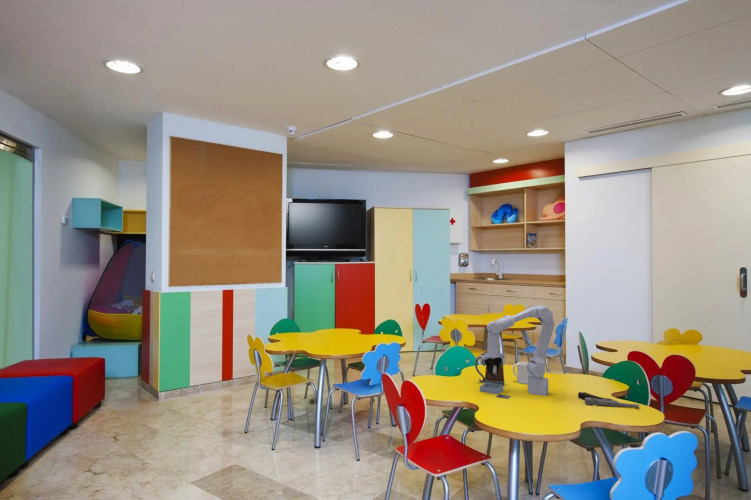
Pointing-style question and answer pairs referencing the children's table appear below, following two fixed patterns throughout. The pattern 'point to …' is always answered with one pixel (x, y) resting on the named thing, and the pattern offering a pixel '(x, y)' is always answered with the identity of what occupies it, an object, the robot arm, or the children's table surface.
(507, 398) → the grey metal square plate
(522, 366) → the mug
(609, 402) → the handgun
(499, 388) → the bin
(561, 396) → the children's table surface
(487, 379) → the mug
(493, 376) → the strut
